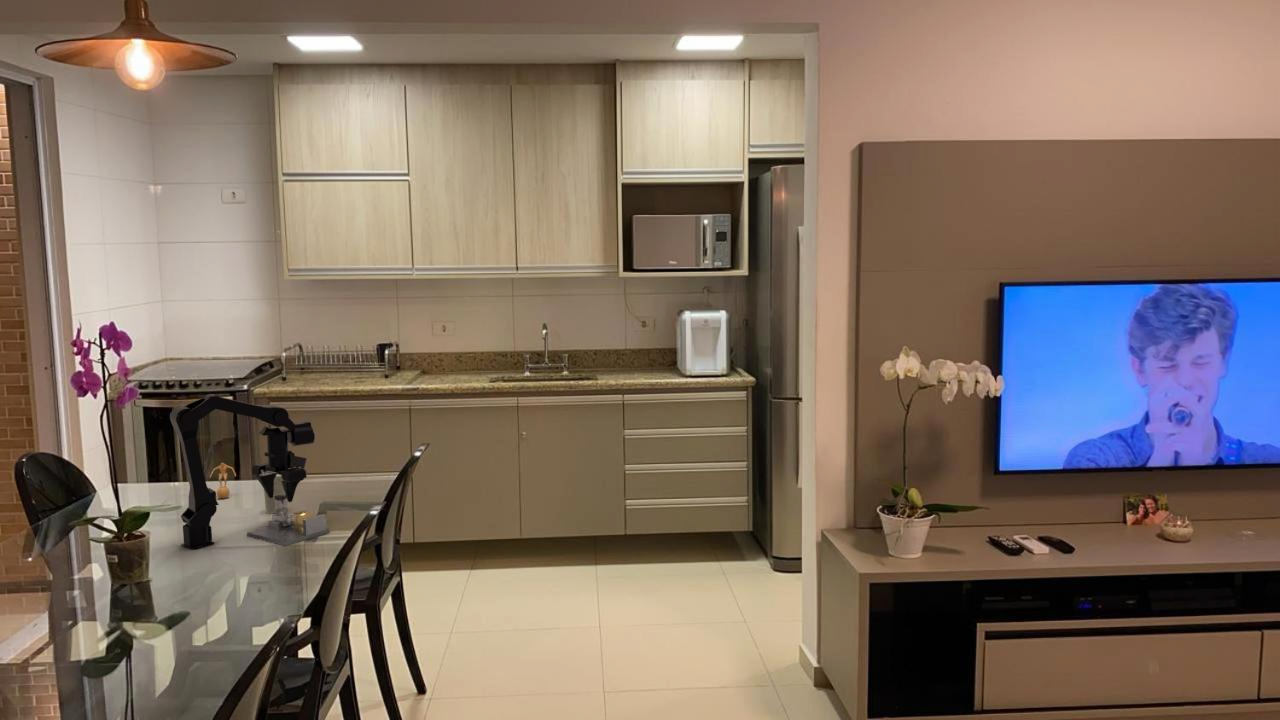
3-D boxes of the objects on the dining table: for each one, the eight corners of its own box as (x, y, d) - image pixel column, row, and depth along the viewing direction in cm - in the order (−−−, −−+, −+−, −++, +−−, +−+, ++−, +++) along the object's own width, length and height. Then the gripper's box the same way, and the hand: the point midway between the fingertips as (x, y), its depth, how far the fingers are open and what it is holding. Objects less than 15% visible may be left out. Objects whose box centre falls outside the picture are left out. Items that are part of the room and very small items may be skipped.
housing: (301, 532, 271) (300, 514, 270) (290, 530, 273) (289, 512, 273) (316, 528, 275) (315, 510, 274) (305, 526, 278) (304, 508, 277)
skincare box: (288, 509, 302) (286, 472, 301) (285, 512, 298) (283, 475, 296) (268, 510, 301) (265, 473, 300) (264, 514, 296) (262, 476, 295)
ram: (287, 527, 275) (285, 499, 274) (272, 524, 279) (270, 496, 278) (298, 524, 279) (297, 496, 278) (284, 520, 282) (282, 493, 282)
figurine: (209, 500, 315) (206, 465, 313) (212, 496, 320) (210, 462, 319) (235, 498, 317) (233, 464, 315) (238, 494, 322) (236, 460, 321)
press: (285, 545, 262) (284, 526, 262) (247, 536, 272) (245, 517, 272) (329, 532, 275) (328, 513, 274) (291, 523, 285) (290, 505, 284)
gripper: (320, 446, 279) (323, 498, 280) (282, 440, 289) (284, 490, 291) (288, 453, 269) (291, 506, 271) (249, 447, 280) (252, 498, 281)
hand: (280, 499), depth 279 cm, fingers open, 9 cm apart
